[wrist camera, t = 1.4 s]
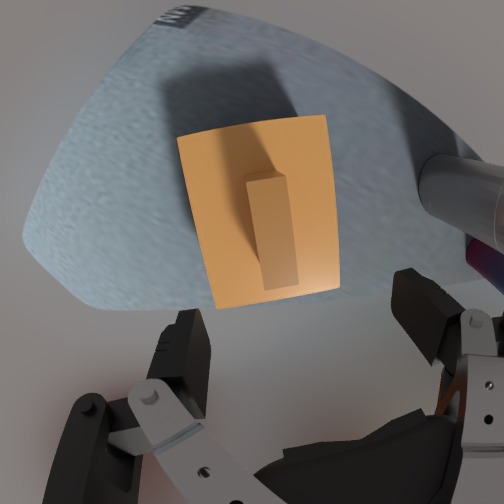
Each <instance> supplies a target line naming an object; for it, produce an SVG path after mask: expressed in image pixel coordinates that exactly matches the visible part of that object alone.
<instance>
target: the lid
mask: <svg viewBox="0 0 504 504" xmlns="http://www.w3.org/2000/svg"><path fill="white" fill-rule="evenodd" d="M177 142H178V147H179V152H180V157H181V162H182V167H183V172H184V177H185V182H186V186H187V191H188V196H189V200H190V205H191V209H192V214H193V218H194V222H195V226H196V231H197V235H198V239H199V243H200V247H201V251H202V255H203V259H204V263H205V267H206V271H207V275H208V278H209V282H210V286H211V290H212V293H213V297H214V301H215V304H216V308H217V309H223V308H229V307H236V306H242V305H249V304H255V303H261V302H267V301H273V300H278V299H284V298H289V297H295V296H300V295H305V294H311V293H316V292H321V291H326V290H331V289H335V288H340V268H339V241H338V224H337V209H336V197H335V186H334V176H333V167H332V159H331V151H330V143H329V136H328V129H327V123H326V117H325V115H315V116H302V117H292V118H282V119H274V120H266V121H259V122H252V123H246V124H239V125H234V126H228V127H223V128H218V129H213V130H208V131H203V132H198V133H194V134H190V135H185V136H181V137H177Z"/></svg>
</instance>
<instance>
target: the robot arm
mask: <svg viewBox="0 0 504 504" xmlns="http://www.w3.org/2000/svg"><path fill="white" fill-rule="evenodd" d="M419 195H420V199H421V202H422V204H423V207H424V208H425V210H426V211H427V212H428V213H429V214H430V215H432V216H434V217H436V218H438V219H440V220H442V221H444V222H446V223H448V224H450V225H452V226H454V227H456V228H458V229H460V230H462V231H463V232H465V233H467V234H469V235H471V236H473V237H475V238H476V239H478V240H480V241H482V242H483V243H485V244H487V245H489V246H490V247H492V248H494V249H495V250H497V251H499V252H500V253H502V254H504V167H502V166H498V165H495V164H491V163H486V162H482V161H477V160H472V159H467V158H462V157H457V156H451V155H445V154H438V155H435V156H433V157H431V158H430V159H429V160H428V161H427V162H426V164H425V165H424V167H423V169H422V172H421V175H420V180H419ZM391 310H392V313H393V316H394V317H395V318H396V320H397V321H398V322H399V324H400V325H401V326H402V327H403V329H404V330H405V331H406V333H407V334H408V335H409V337H410V338H411V339H412V341H413V342H414V343H415V345H416V346H417V347H418V349H419V350H420V351H421V353H422V354H423V355H424V357H425V358H426V360H427V361H428V362H429V364H430V365H431V367H432V366H434V365H436V364H439V363H441V362H442V363H443V364H444V366H443V368H442V371H441V379H440V387H439V394H438V400H437V406H436V410H435V413H434V415H427V416H425V414H424V413H423V411H422V409H421V408H420V409H418V410H415V411H413V412H411V413H408V414H406V415H404V416H401V417H399V418H396V419H394V420H391V421H390V422H388V423H387V424H385V425H384V426H382V427H381V428H379V429H378V430H376V431H374V432H372V433H371V434H369V435H367V436H366V437H364V438H362V439H360V440H351V441H334V442H318V443H313V444H308V445H304V446H299V447H293V448H287V449H283V455H284V458H281V459H279V460H277V461H274V462H272V463H270V464H268V465H267V466H265V467H263V468H262V469H260V470H259V471H258V472H256V473H255V474H254V475H252V474H251V473H250V472H248V471H247V470H246V469H245V468H244V467H243V466H242V465H241V464H240V463H239V462H238V461H236V459H234V457H233V456H232V455H230V453H228V451H227V450H226V449H225V448H224V447H222V445H221V444H220V443H219V442H218V441H217V440H216V439H215V438H214V437H213V436H212V435H211V434H210V433H209V431H208V430H207V429H206V428H205V427H204V426H203V425H202V424H201V423H198V422H196V420H195V419H205V416H206V415H205V414H206V403H207V392H208V380H209V369H210V359H211V346H210V340H209V337H208V334H207V331H206V328H205V325H204V322H203V319H202V316H201V313H200V310H199V309H190V310H182V311H179V313H178V316H177V319H176V323H175V324H172V325H168V326H167V327H166V328H165V330H164V331H163V332H162V333H161V335H160V338H159V341H158V345H157V347H156V350H155V351H156V352H155V353H154V356H153V359H152V362H151V365H150V368H149V371H148V374H147V378H146V380H143V381H141V382H139V383H138V384H136V385H135V386H134V387H133V388H132V389H131V391H130V392H129V395H128V397H127V398H123V399H119V400H114V401H110V402H107V401H106V400H105V399H104V398H103V396H101V395H100V394H97V393H88V394H85V395H83V396H81V397H80V398H79V399H78V400H77V401H76V402H75V403H74V405H73V407H72V409H71V412H70V414H69V417H68V420H67V422H66V425H65V428H64V431H63V433H62V436H61V439H60V442H59V445H58V448H57V451H56V455H55V458H54V461H53V464H52V468H51V471H50V475H49V478H48V482H47V486H46V490H45V494H44V498H43V503H42V504H138V494H139V485H140V476H141V468H142V460H143V454H145V453H150V452H153V453H154V455H155V457H156V458H157V460H158V462H159V463H160V465H161V466H162V468H163V469H164V471H165V472H166V474H167V475H168V476H169V478H170V479H171V481H172V482H173V483H174V485H175V486H176V487H177V489H178V490H179V491H180V493H181V494H182V495H183V497H184V498H185V499H186V500H187V501H188V503H189V504H504V312H503V315H502V316H501V317H495V318H491V317H490V316H489V315H488V314H487V313H485V312H484V311H482V310H479V309H468V310H466V309H464V308H463V307H462V306H461V305H460V304H459V303H458V302H457V301H456V300H455V299H454V298H452V297H451V296H450V295H449V294H447V293H446V291H444V290H443V289H441V287H440V286H439V285H438V284H436V283H435V282H434V281H433V280H430V279H428V278H426V277H424V276H421V275H420V274H419V273H418V272H417V271H416V270H414V269H413V268H408V269H404V270H400V271H396V272H395V274H394V278H393V288H392V298H391Z"/></svg>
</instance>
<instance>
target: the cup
mask: <svg viewBox="0 0 504 504" xmlns="http://www.w3.org/2000/svg"><path fill="white" fill-rule="evenodd" d="M466 261H467V263H468V264H469V265H470V266H471V267H473V268H474V269H475V270H476V271H477V272H479V273H480V274H481V275H482V276H483V277H484V278H486V279H487V280H488V281H489V282H490V283H491V284H492V285H494V286H495V287H496V288H497V289H498V290H499V291H500V292H501V293H502V294H503V295H504V254H502V253H500V252H499V251H497V250H495V249H494V248H492V247H490V246H489V245H487V244H485V243H483V242H482V241H480V240H478V239H476V238H475V239H474V240H473V241H472V242H471V243H470V245H469V246H468V249H467V252H466Z"/></svg>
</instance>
